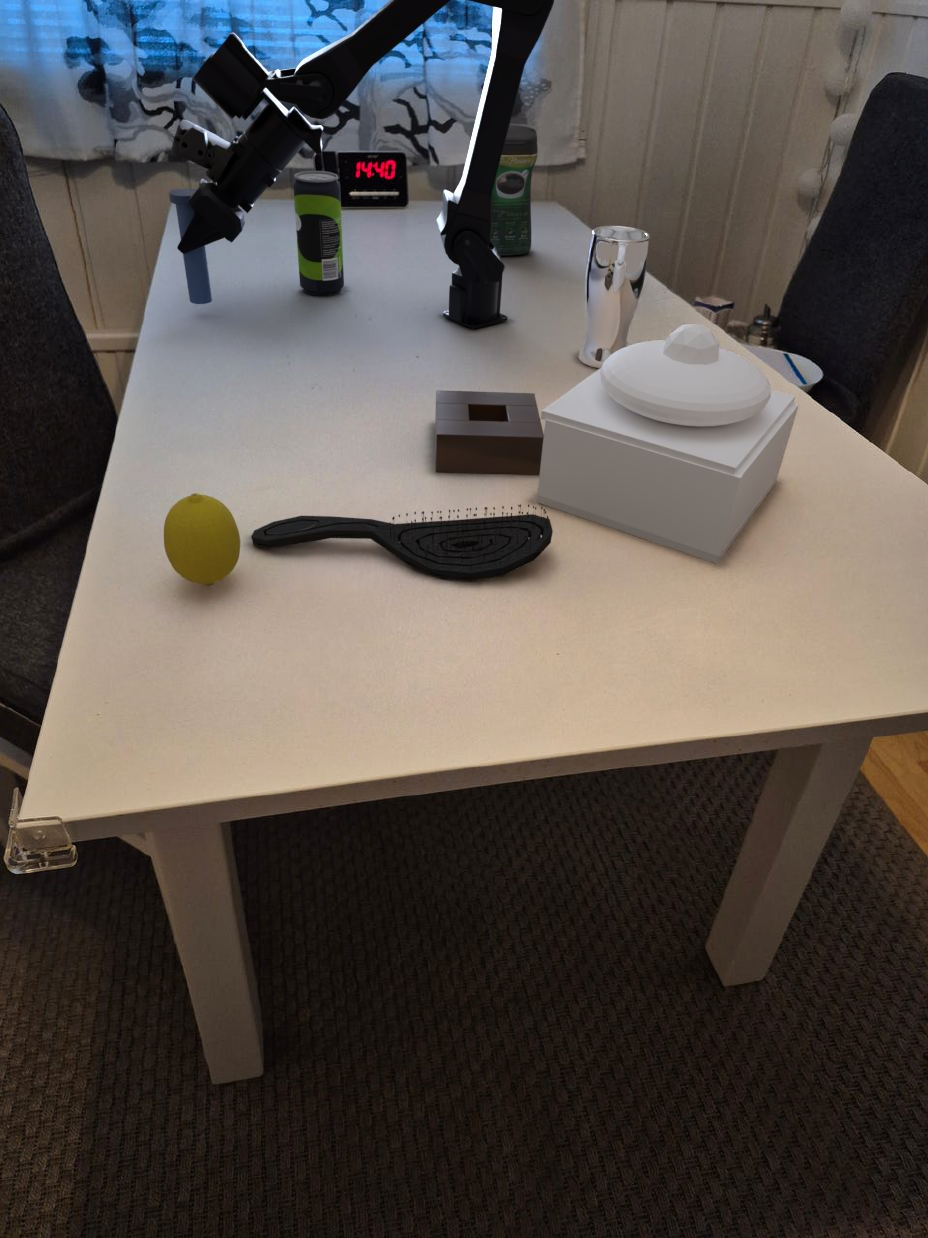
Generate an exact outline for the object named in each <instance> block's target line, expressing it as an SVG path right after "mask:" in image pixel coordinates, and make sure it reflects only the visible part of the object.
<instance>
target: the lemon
mask: <svg viewBox="0 0 928 1238" xmlns="http://www.w3.org/2000/svg"><path fill="white" fill-rule="evenodd" d="M163 547H164V551H165V554H166V557H167V559H168V562H169V563H170V565H171V567H172V568H173V570H174V572H176V573H177V574H178V575H179V576H181V578H183V579H185V580H187V581H189V582H190V583H191V582H192V583H195V584H198V585H199V584H201V585H205V586H212V585H213V584H215V583H217V582H220V581H222V580H224V579H225V578H227V577H228V576H229V575H230V574H231V573H232V571H233V570H234V569H235V567H236V565H237V564H238V561H239V558H240V554H241V553H240V552H241V536H240V530H239V527H238V526H237V523H236V520H235V518H234V515H233V514H232V512H231V511H230V509H229V508H228V507H227V506H226V505H225V504H224V503H223V502H222V501H220V500H219V499H217V498H215V497H213V496H211V495H207V494H200V493H197V492H194V493H192V494H190V495H188V496H185V497H183V498H181V499H179V500H178V501H177V502H175V503H174V504H173V506H172V507H171V508H170V509H169V510H168V513H167V514H166V517H165V520H164V524H163Z"/></svg>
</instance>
